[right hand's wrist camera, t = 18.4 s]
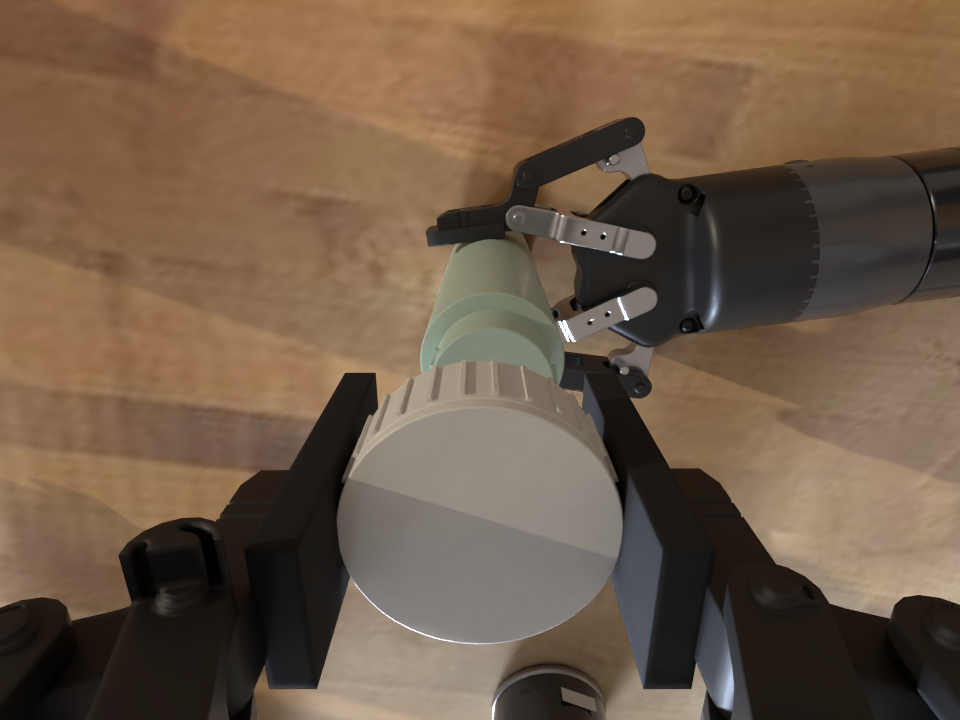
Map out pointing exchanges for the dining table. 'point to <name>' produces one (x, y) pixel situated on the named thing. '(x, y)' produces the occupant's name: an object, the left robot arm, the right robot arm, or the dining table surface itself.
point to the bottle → (493, 310)
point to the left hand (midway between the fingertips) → (438, 289)
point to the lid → (480, 505)
